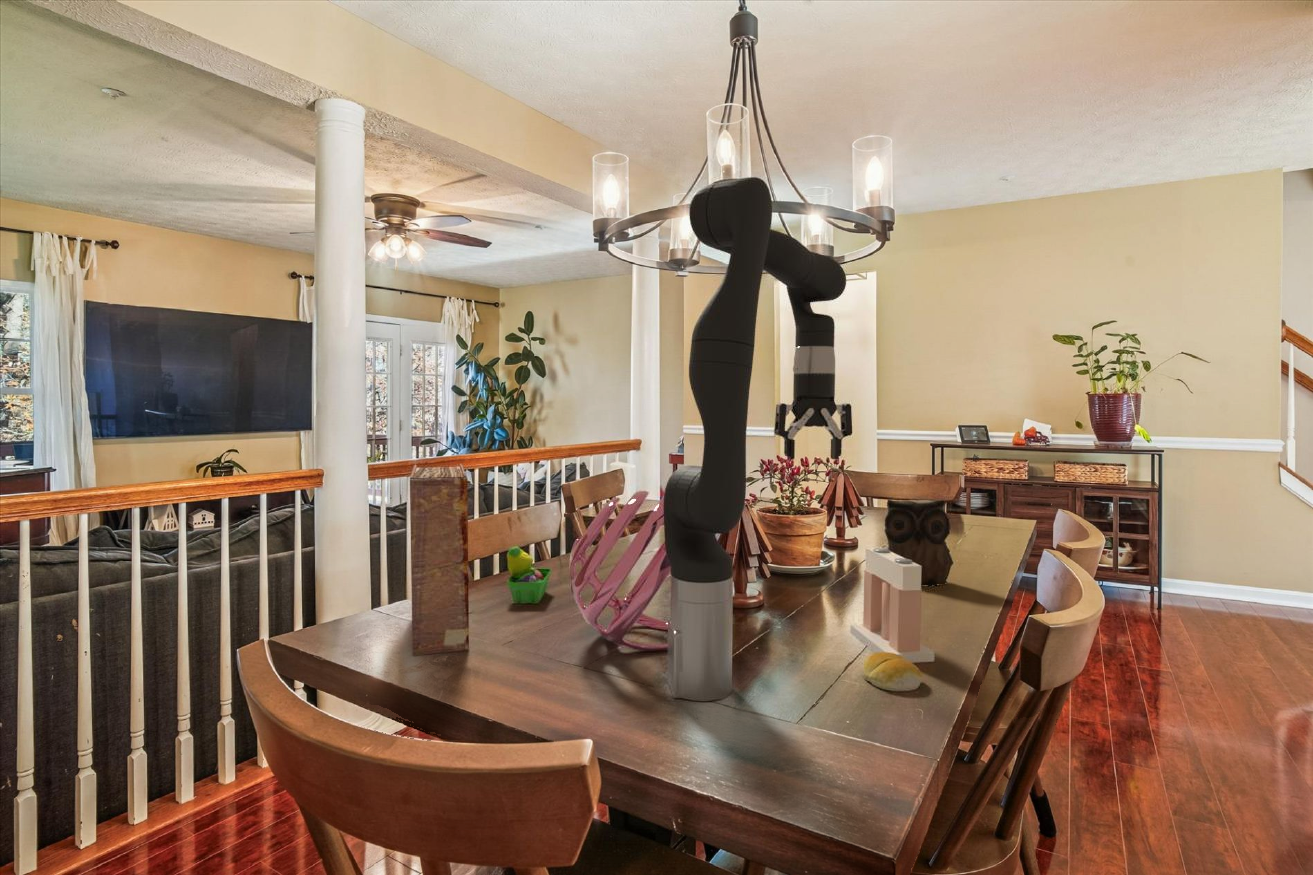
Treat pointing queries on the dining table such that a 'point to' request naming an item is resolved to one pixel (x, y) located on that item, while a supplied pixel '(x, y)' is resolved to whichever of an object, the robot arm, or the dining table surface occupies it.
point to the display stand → (892, 620)
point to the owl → (920, 536)
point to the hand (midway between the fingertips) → (812, 459)
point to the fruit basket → (525, 577)
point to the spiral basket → (620, 572)
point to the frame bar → (893, 569)
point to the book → (439, 559)
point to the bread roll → (891, 672)
